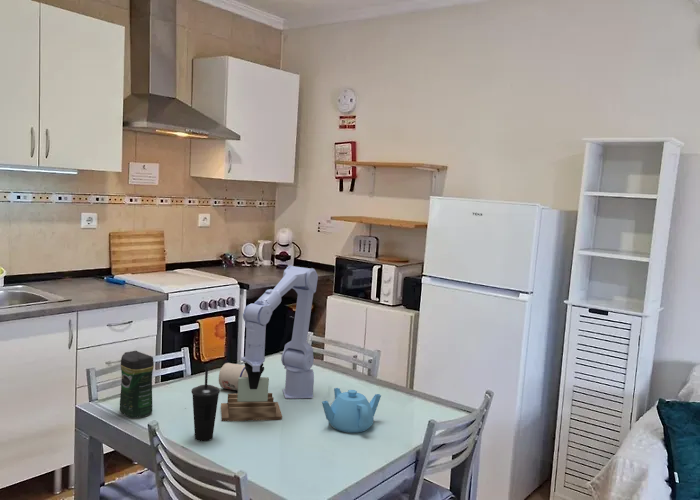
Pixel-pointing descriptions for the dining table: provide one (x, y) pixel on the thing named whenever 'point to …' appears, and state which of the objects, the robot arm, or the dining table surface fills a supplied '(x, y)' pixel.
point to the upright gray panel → (252, 390)
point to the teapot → (351, 411)
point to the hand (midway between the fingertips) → (253, 387)
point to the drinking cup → (204, 409)
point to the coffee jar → (136, 384)
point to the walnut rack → (250, 409)
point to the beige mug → (231, 375)
